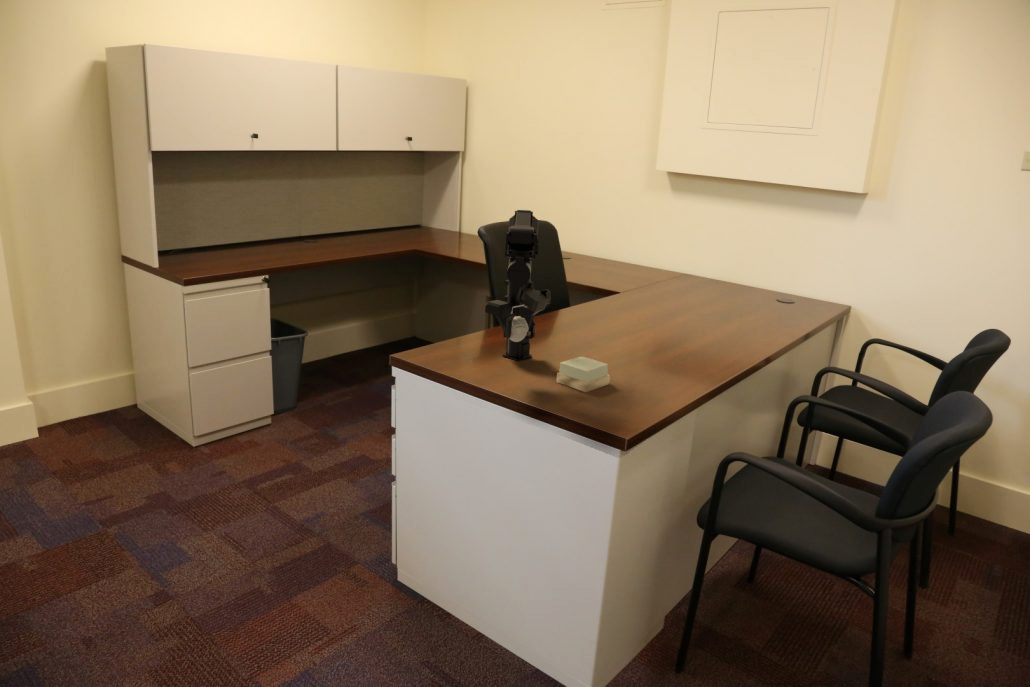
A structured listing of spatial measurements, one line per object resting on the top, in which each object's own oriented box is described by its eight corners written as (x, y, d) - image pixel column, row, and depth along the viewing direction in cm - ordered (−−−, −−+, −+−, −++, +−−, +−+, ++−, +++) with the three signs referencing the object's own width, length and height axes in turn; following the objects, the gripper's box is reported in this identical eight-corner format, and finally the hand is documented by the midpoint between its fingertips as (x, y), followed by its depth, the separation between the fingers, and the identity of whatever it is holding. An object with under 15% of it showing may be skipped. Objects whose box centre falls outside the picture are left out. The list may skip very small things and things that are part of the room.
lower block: (556, 383, 191) (557, 373, 191) (579, 376, 198) (580, 365, 198) (585, 394, 185) (586, 383, 184) (609, 385, 192) (610, 374, 191)
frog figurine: (508, 346, 185) (510, 319, 183) (501, 338, 191) (502, 312, 189) (531, 345, 187) (532, 319, 185) (523, 337, 193) (524, 312, 191)
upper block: (559, 373, 190) (559, 362, 189) (580, 366, 197) (581, 356, 196) (586, 382, 184) (586, 371, 184) (607, 375, 191) (608, 364, 190)
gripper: (517, 287, 172) (514, 349, 177) (566, 278, 185) (563, 336, 190) (484, 279, 180) (482, 339, 184) (534, 271, 193) (531, 327, 197)
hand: (516, 336), depth 189 cm, fingers closed on frog figurine, 6 cm apart
